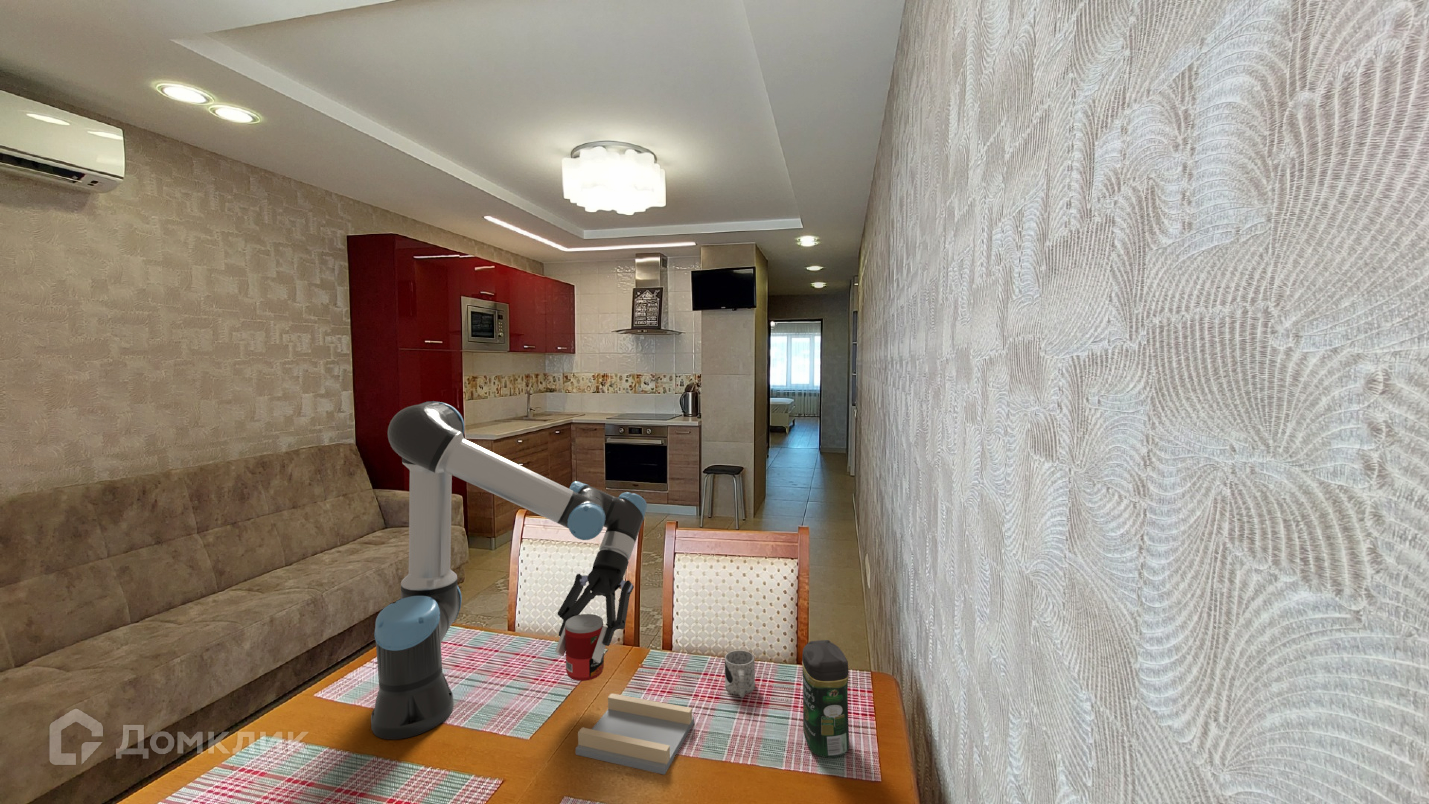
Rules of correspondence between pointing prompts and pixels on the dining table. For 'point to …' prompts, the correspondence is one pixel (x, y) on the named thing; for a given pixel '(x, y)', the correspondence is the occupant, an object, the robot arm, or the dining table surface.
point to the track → (637, 733)
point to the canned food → (583, 646)
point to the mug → (739, 672)
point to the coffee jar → (825, 698)
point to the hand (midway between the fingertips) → (577, 657)
